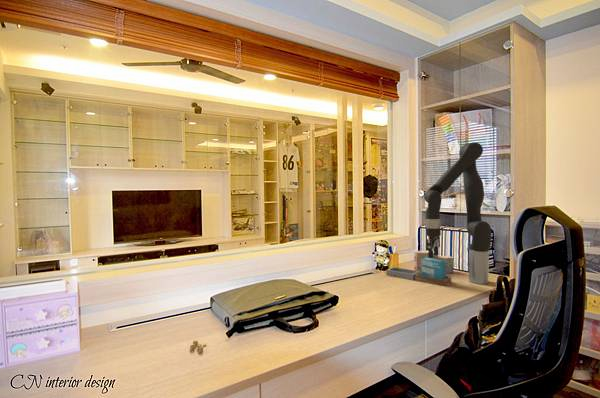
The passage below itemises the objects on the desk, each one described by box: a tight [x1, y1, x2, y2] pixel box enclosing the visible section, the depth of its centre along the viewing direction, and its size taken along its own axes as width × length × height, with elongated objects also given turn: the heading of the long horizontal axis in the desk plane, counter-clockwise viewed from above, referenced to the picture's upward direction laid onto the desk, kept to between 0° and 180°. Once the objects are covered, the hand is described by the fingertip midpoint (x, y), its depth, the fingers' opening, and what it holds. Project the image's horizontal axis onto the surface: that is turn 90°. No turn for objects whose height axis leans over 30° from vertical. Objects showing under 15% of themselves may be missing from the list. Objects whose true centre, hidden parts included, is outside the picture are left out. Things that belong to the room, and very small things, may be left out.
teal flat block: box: [421, 258, 447, 280], centre depth 172 cm, size 12×4×12 cm, turn 39°
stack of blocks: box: [413, 250, 454, 274], centre depth 193 cm, size 21×6×12 cm, turn 84°
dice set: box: [189, 340, 207, 354], centre depth 100 cm, size 5×5×2 cm
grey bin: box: [385, 266, 420, 281], centre depth 183 cm, size 10×16×3 cm, turn 49°
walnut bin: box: [414, 272, 452, 287], centre depth 172 cm, size 10×16×3 cm, turn 48°
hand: (433, 256), depth 172 cm, fingers open, 8 cm apart
